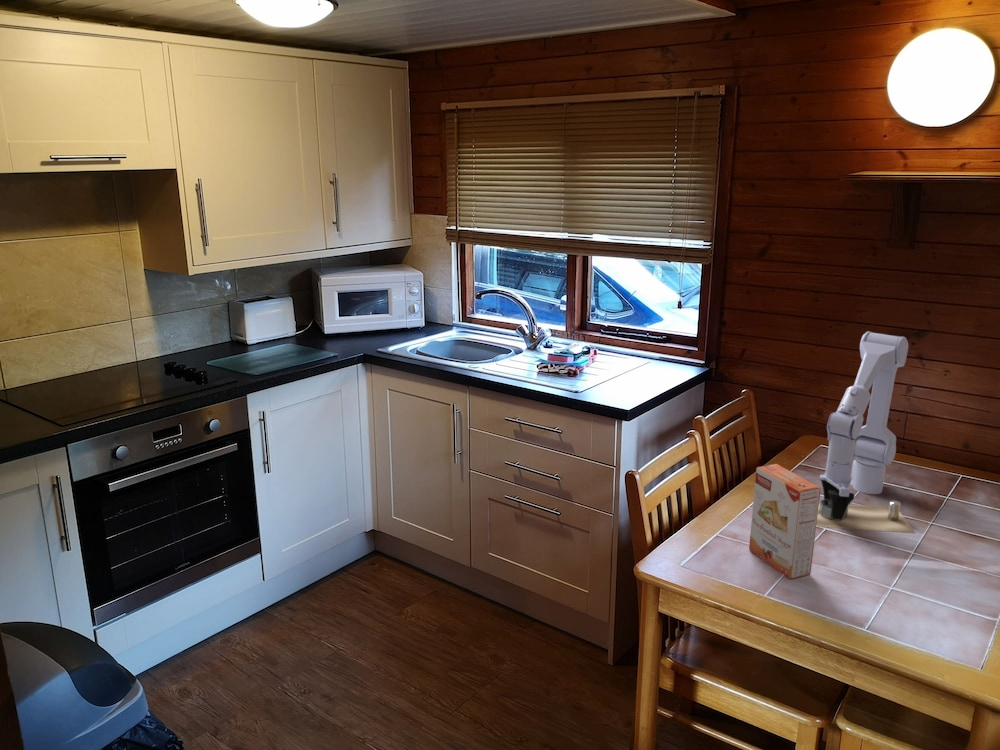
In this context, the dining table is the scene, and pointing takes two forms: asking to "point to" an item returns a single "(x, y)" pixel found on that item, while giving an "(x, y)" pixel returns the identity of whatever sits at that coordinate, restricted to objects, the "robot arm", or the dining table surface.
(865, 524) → the board
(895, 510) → the steel post
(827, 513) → the ring hub
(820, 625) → the dining table surface
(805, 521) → the cracker box
